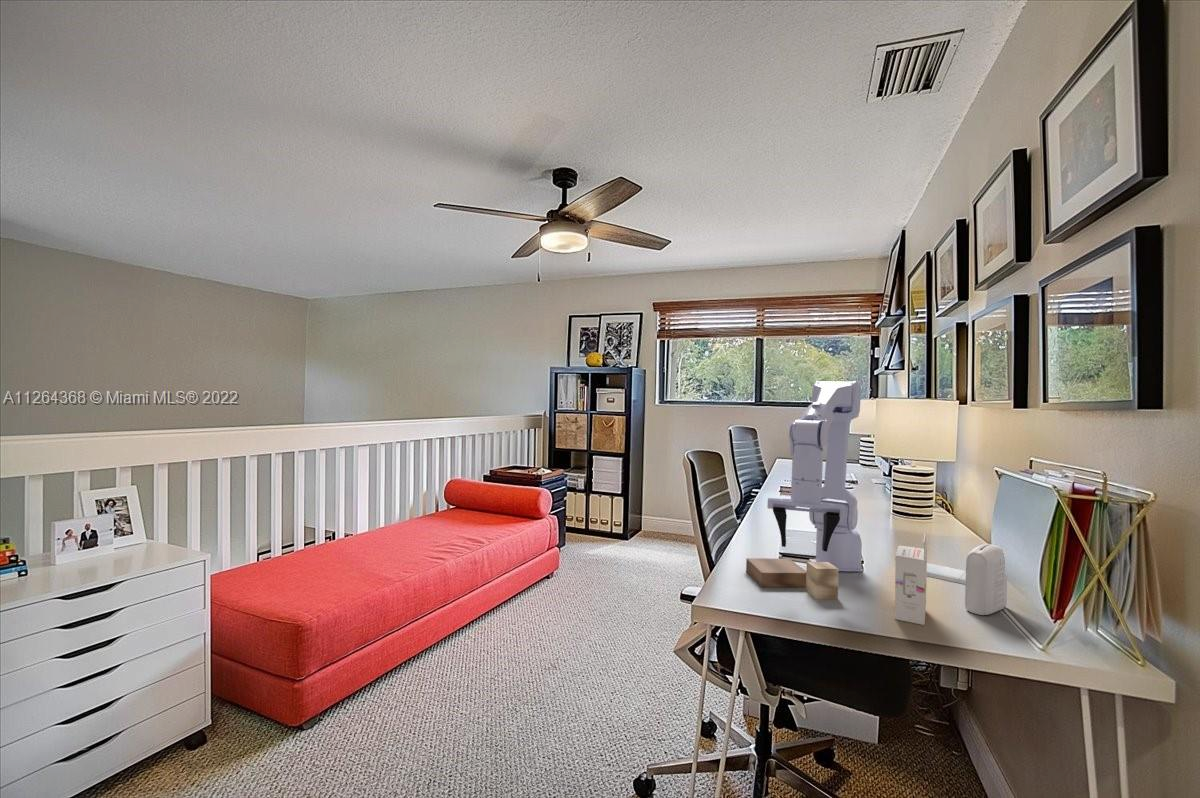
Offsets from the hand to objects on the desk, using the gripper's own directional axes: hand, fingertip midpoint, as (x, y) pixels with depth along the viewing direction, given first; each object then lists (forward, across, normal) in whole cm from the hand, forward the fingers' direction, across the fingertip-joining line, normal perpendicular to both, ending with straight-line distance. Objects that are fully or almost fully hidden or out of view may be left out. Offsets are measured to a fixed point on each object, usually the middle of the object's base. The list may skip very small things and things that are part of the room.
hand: (803, 548), depth 107 cm
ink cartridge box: (+10, +19, -2) cm, 21 cm away
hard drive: (+8, +32, +27) cm, 43 cm away
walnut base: (+9, -4, +10) cm, 14 cm away
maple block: (+10, +4, +3) cm, 11 cm away
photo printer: (+9, +34, +6) cm, 35 cm away
